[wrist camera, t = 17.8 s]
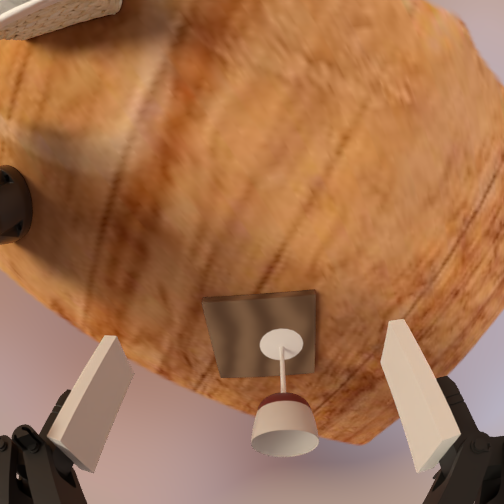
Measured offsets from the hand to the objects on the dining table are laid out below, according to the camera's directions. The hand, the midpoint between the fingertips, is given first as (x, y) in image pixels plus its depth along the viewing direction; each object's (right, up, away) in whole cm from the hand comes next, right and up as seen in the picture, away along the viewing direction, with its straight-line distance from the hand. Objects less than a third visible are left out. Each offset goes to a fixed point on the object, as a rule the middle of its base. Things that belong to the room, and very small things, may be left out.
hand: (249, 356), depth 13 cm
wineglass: (+5, -11, +37) cm, 39 cm away
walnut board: (+2, -10, +38) cm, 40 cm away
